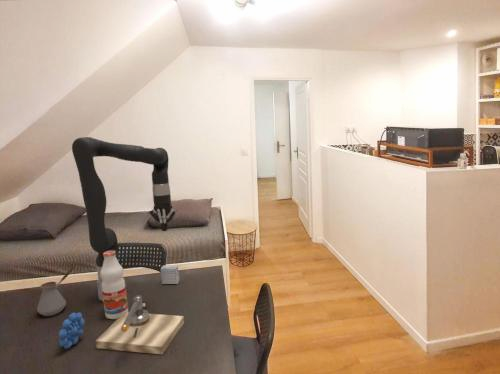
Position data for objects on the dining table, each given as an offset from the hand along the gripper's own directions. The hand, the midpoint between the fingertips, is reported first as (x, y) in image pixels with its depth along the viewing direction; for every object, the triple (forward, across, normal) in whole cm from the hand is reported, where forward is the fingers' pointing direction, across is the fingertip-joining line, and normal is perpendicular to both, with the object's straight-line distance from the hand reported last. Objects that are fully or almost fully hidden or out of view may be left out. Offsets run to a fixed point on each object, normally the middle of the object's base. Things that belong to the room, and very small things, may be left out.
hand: (165, 230), depth 163 cm
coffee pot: (+32, -47, -15) cm, 59 cm away
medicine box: (+32, -6, +13) cm, 35 cm away
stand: (+32, +2, -31) cm, 45 cm away
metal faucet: (+29, +1, -34) cm, 44 cm away
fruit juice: (+32, -17, -18) cm, 41 cm away
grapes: (+32, -22, -40) cm, 56 cm away
